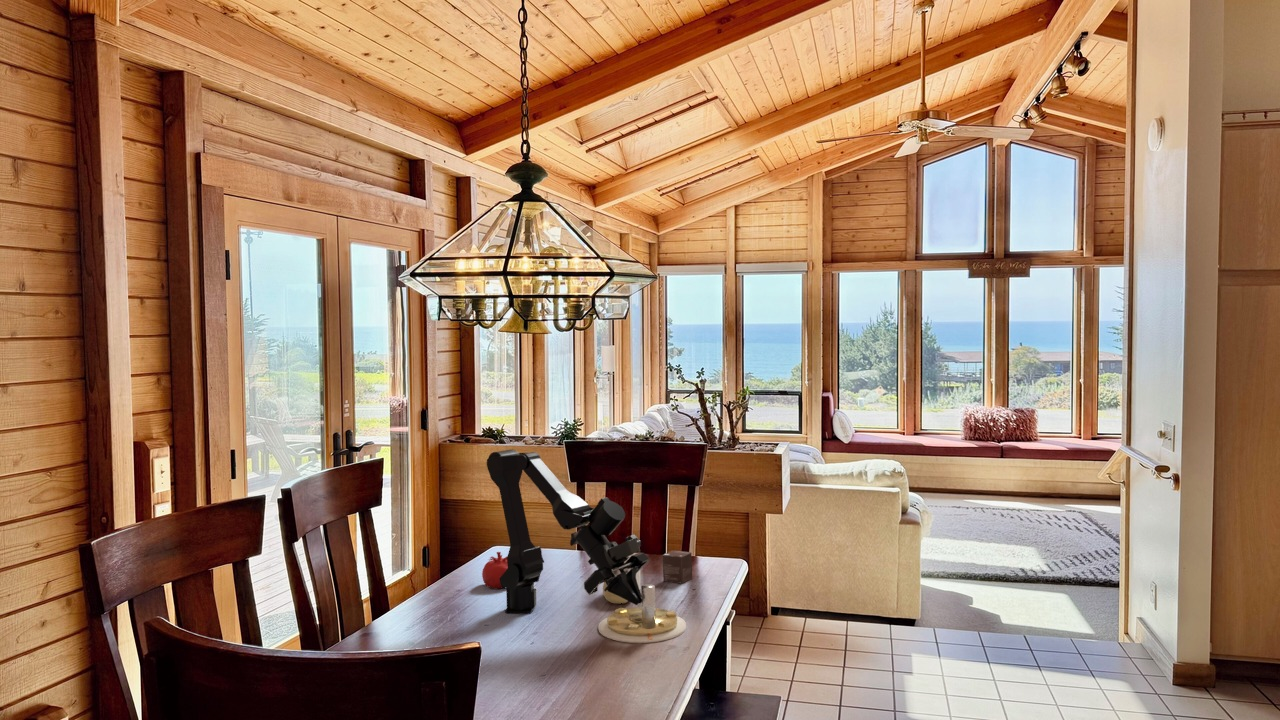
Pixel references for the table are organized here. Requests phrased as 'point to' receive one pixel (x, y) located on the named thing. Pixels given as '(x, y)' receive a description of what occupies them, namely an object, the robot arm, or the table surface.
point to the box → (677, 566)
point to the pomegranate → (494, 571)
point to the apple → (612, 596)
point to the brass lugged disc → (643, 617)
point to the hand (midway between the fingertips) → (639, 602)
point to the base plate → (642, 639)
